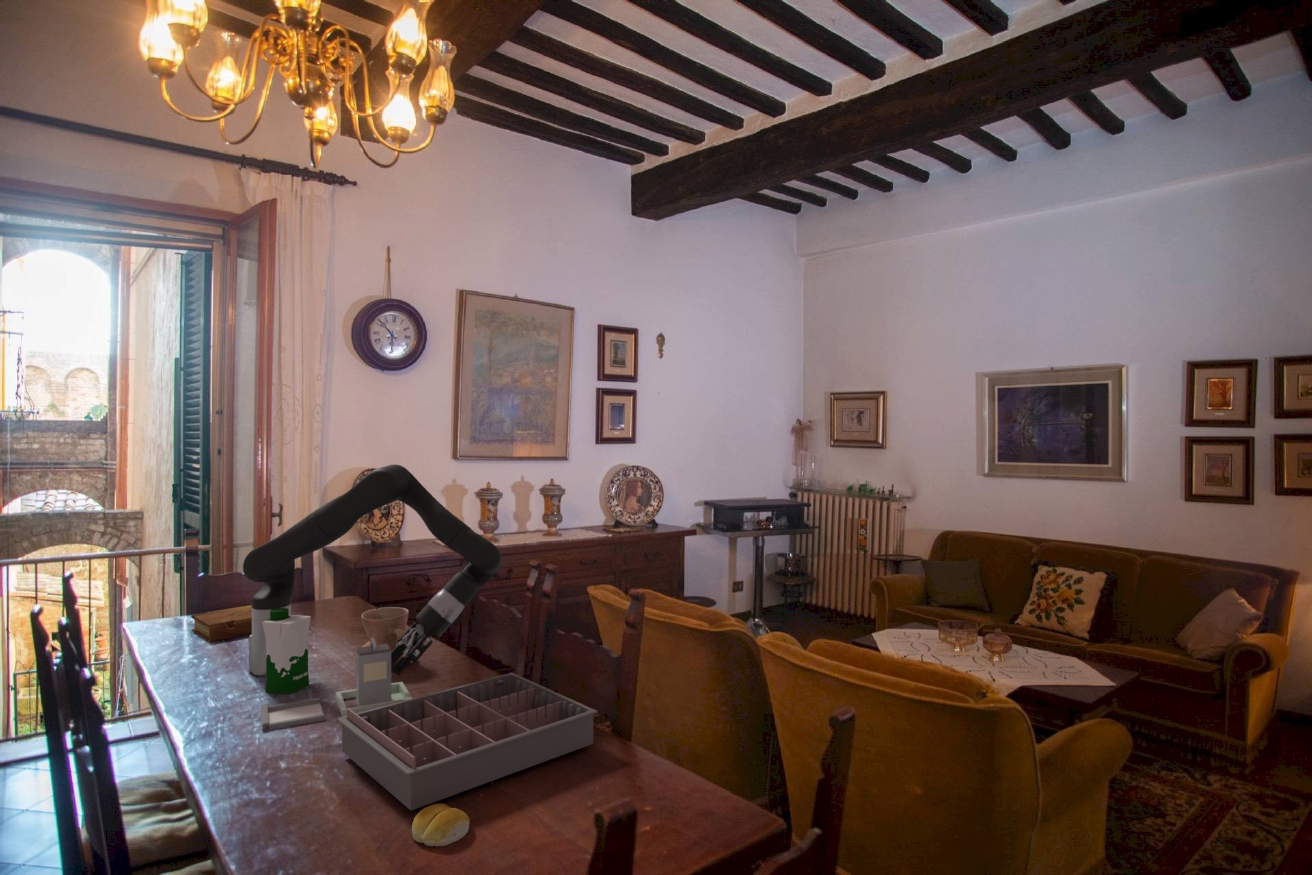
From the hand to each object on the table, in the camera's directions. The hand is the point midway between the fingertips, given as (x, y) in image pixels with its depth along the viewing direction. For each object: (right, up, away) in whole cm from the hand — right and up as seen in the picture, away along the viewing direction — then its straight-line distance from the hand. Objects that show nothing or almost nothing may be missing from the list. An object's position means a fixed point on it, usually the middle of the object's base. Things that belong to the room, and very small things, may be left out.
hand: (391, 667), depth 174 cm
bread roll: (+27, -10, -55) cm, 62 cm away
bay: (-18, -9, -10) cm, 23 cm away
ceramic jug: (-12, -8, +29) cm, 32 cm away
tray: (-4, -9, -1) cm, 9 cm away
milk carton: (-28, -9, +8) cm, 30 cm away
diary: (-71, -8, +63) cm, 95 cm away
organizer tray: (+25, -9, -26) cm, 37 cm away
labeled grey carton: (-4, -8, -1) cm, 9 cm away
